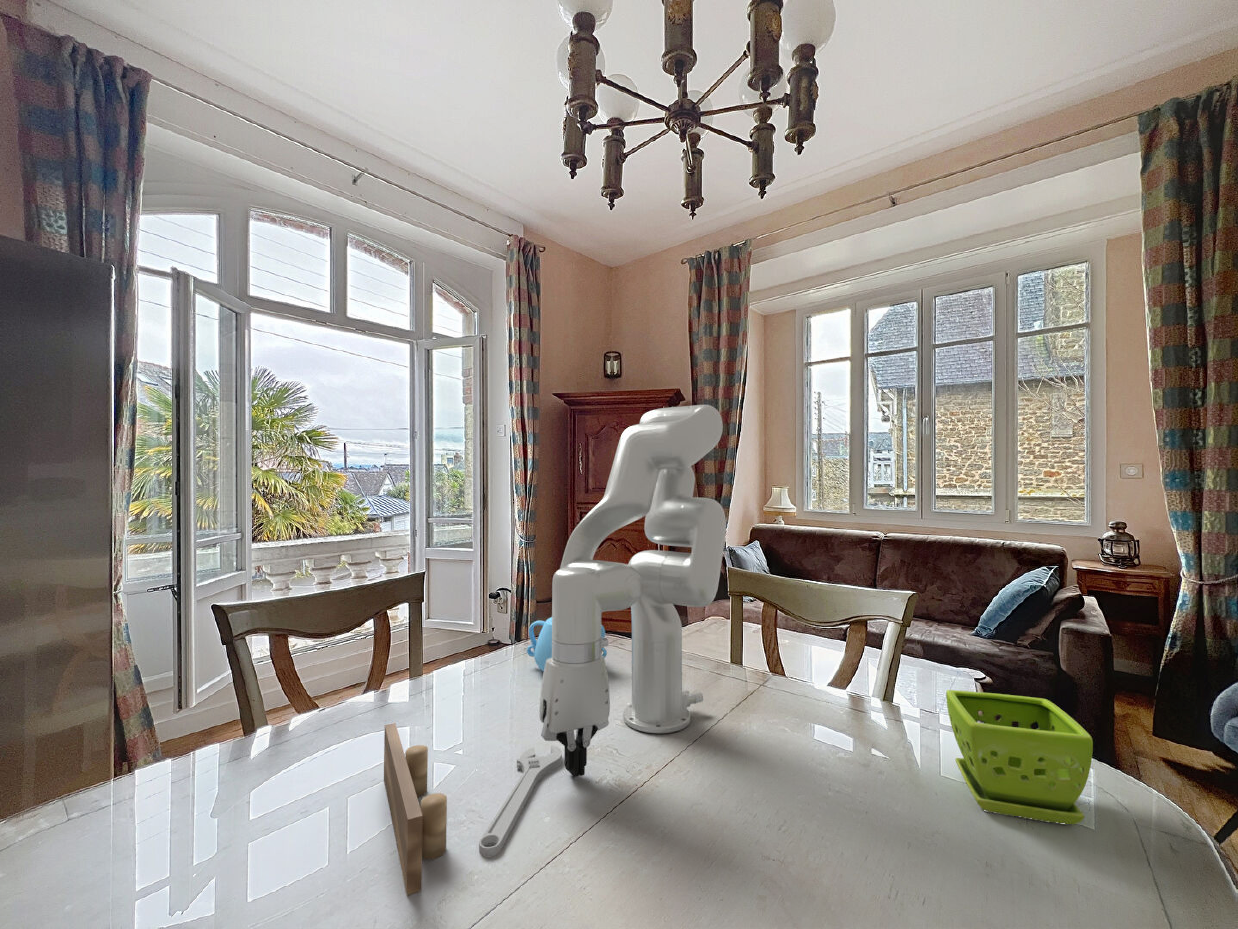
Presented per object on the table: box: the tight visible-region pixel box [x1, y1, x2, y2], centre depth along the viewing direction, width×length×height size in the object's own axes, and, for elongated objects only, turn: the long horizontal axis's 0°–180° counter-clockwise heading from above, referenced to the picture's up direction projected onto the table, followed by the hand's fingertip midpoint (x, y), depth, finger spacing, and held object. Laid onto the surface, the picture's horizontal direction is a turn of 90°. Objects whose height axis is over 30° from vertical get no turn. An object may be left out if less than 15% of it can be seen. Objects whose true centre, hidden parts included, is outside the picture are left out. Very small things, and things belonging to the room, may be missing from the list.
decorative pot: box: [526, 616, 608, 672], centre depth 130 cm, size 16×16×14 cm
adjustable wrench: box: [478, 745, 563, 858], centre depth 77 cm, size 25×6×2 cm, turn 166°
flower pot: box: [945, 689, 1094, 826], centre depth 76 cm, size 14×14×13 cm
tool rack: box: [383, 722, 448, 896], centre depth 71 cm, size 5×26×8 cm, turn 29°
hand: (575, 772), depth 82 cm, fingers closed
